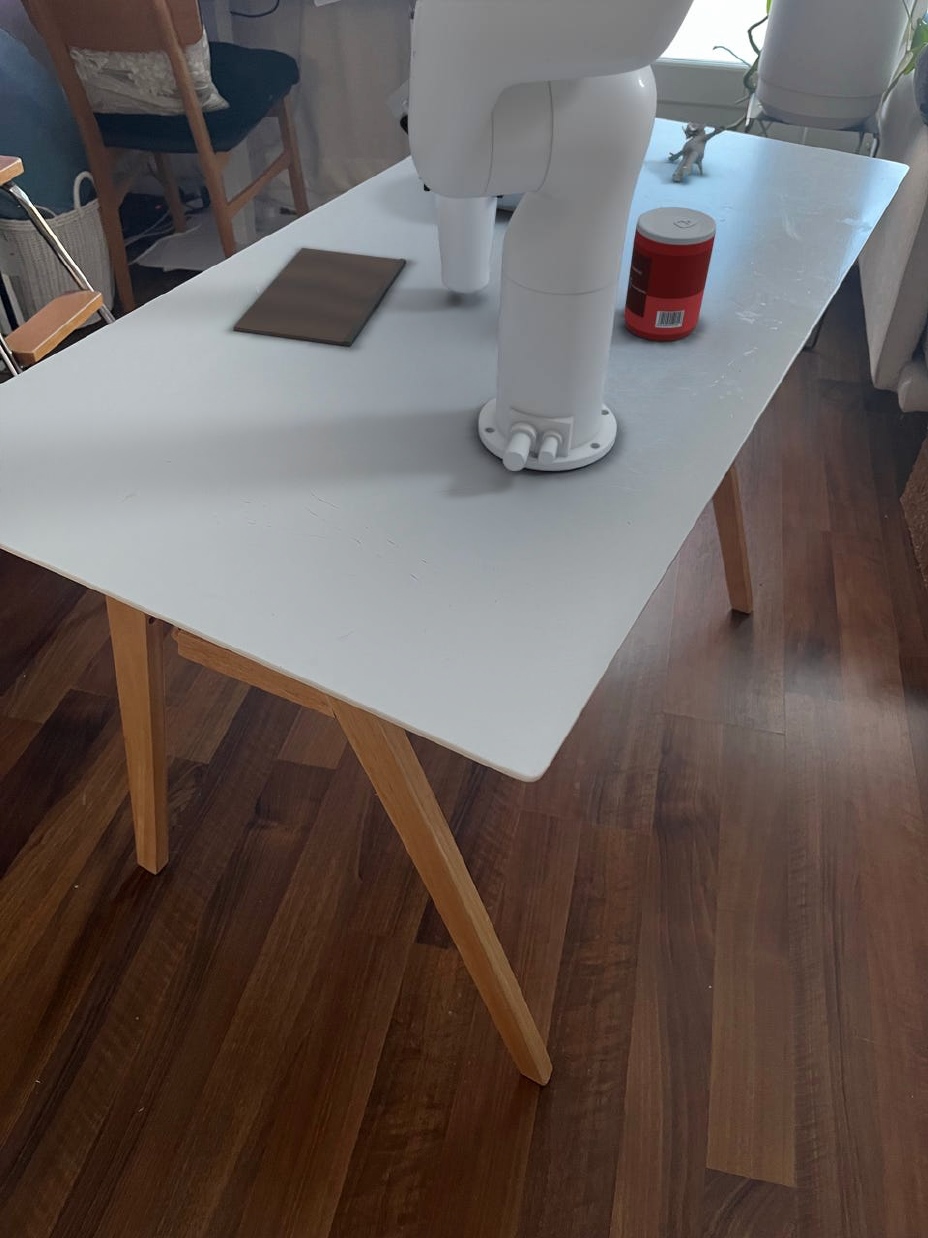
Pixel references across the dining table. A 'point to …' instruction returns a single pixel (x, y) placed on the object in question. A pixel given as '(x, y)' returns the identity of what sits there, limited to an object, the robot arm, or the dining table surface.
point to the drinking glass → (465, 241)
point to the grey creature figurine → (693, 148)
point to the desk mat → (322, 297)
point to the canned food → (668, 272)
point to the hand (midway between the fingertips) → (466, 188)
